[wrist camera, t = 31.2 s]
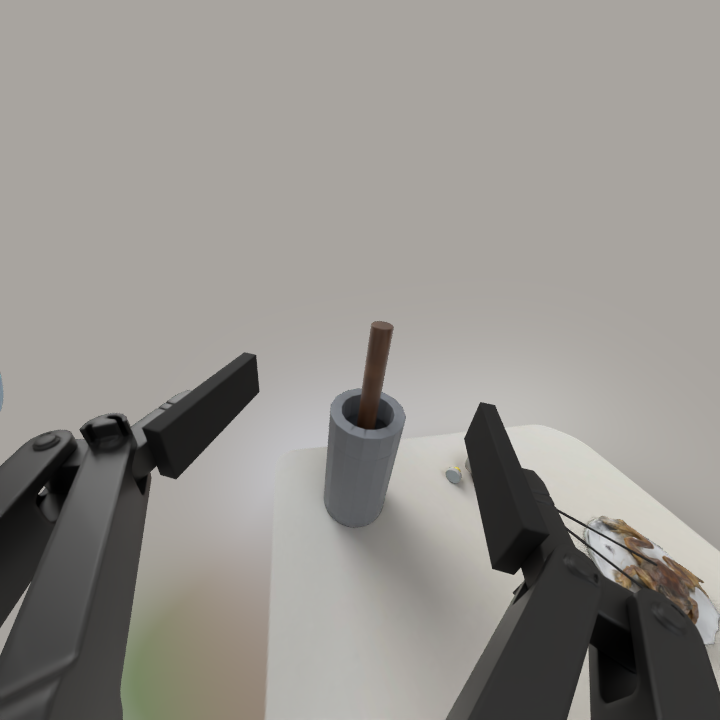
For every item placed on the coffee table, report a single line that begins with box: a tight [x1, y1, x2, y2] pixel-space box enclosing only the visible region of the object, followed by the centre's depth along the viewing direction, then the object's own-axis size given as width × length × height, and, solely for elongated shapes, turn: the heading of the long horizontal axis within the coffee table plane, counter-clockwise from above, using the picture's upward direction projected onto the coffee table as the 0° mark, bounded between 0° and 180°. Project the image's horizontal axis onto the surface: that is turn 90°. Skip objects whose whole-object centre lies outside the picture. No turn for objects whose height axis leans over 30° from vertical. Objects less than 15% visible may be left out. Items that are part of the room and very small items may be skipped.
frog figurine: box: [584, 516, 720, 645], centre depth 29 cm, size 12×12×4 cm
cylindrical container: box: [324, 389, 406, 527], centre depth 31 cm, size 8×8×15 cm
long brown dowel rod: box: [357, 321, 394, 430], centre depth 28 cm, size 3×3×24 cm
